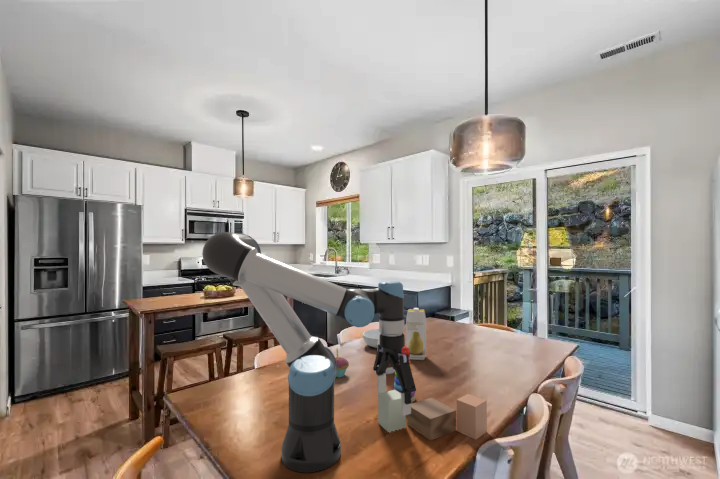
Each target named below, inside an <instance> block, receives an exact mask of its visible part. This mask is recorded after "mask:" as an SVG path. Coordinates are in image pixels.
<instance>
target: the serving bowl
mask: <svg viewBox="0 0 720 479" xmlns="http://www.w3.org/2000/svg"><path fill="white" fill-rule="evenodd" d="M380 334H381V333H380V332H379V328H374V329H369V330H366V331H364V332H363V333H362V338H363V341H364V342H365V344H366V345H368V346H369V347H372V348H376V349H377V344H378V339H379V335H380Z"/></svg>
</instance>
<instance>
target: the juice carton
mask: <svg viewBox="0 0 720 479" xmlns="http://www.w3.org/2000/svg"><path fill="white" fill-rule="evenodd" d="M405 318H406V319H405V320H406V321H405V322H406V323H405V327H406V328H405V330H406V331H405V336H406V338H405V342H406V343H405V346H407V347H408V348H409V350H410V357H409V360H413V361H414V360H415V361H416V360H417V361H425V359H426V355H427V315H426V310H425V309H424V308H423V309H419V307H413V308H409V309H408V310H407V313H406V317H405Z"/></svg>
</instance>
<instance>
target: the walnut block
mask: <svg viewBox="0 0 720 479" xmlns="http://www.w3.org/2000/svg"><path fill="white" fill-rule="evenodd" d="M406 422H407V425H408V426H409V427H411V428H412V429H414V430H415V431H416V430H417V432H418V433H419V434H421V435H422V436H423V437H425V438H427V439H428V441H432V440H435V439H437V438H441V437H443V436H445V435H448V434H451V433H453V432H455V431H457V409H455V408H453V407H451V406H450V405H447V404H446V403H443V402H442V401H440V400H438V399H436V398H434V397H432V396H431V397H429V398H425V399H423V400H419V401H414V402H412V403H411V414H408V415H406Z"/></svg>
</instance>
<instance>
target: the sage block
mask: <svg viewBox="0 0 720 479" xmlns="http://www.w3.org/2000/svg"><path fill="white" fill-rule="evenodd" d="M377 404H378V405H377V415H378V416H377V422H378V424H379V426H381V428H383V429H384V430H385V431H386V432H387V433H388V432H389V433H392V432H391V431H393V432H396V431H395V430H397V431H399V429H400V430H403V429H402V428H404V429H406V428H407V415H405V416H402V415H401V393H399V392H398V391H396V390H394V389H392V390H386V392H381V393H378V392H377Z"/></svg>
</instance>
